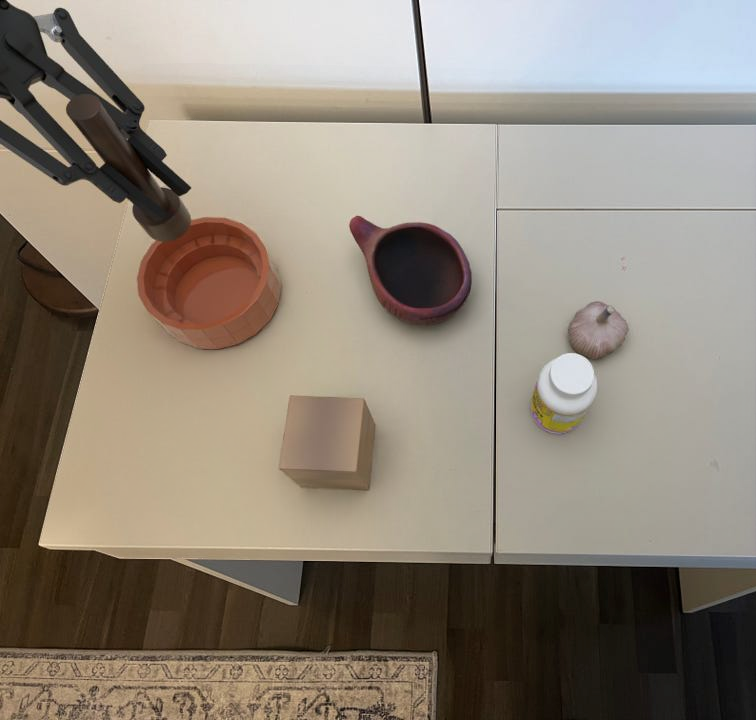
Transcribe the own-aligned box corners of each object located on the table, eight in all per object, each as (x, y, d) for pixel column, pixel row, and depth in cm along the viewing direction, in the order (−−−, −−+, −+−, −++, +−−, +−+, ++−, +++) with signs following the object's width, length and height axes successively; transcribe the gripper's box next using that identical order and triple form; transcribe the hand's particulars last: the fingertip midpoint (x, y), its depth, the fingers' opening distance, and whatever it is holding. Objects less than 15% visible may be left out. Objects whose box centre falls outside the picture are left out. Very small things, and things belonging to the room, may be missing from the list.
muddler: (156, 249, 69) (66, 138, 53) (137, 217, 70) (44, 100, 55) (198, 228, 70) (122, 113, 54) (179, 196, 71) (99, 76, 56)
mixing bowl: (192, 373, 82) (170, 353, 76) (140, 281, 86) (116, 256, 80) (303, 310, 85) (291, 287, 79) (248, 225, 90) (232, 197, 84)
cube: (300, 487, 77) (278, 468, 67) (309, 421, 80) (289, 395, 70) (369, 490, 77) (356, 472, 67) (375, 424, 80) (364, 398, 70)
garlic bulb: (624, 314, 86) (639, 285, 79) (623, 366, 83) (639, 341, 76) (567, 309, 86) (576, 279, 79) (564, 360, 83) (574, 334, 76)
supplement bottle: (530, 382, 82) (541, 341, 70) (582, 385, 82) (603, 344, 70) (529, 434, 80) (540, 401, 68) (583, 436, 80) (605, 404, 68)
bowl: (477, 255, 89) (478, 221, 82) (465, 341, 84) (465, 313, 77) (359, 242, 89) (350, 207, 82) (341, 327, 84) (330, 298, 77)
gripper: (-6, -54, 57) (213, 155, 69) (-158, 65, 52) (109, 267, 64) (-1, -94, 51) (238, 142, 64) (-172, 35, 46) (125, 264, 58)
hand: (173, 204), depth 64 cm, fingers closed on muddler, 3 cm apart
